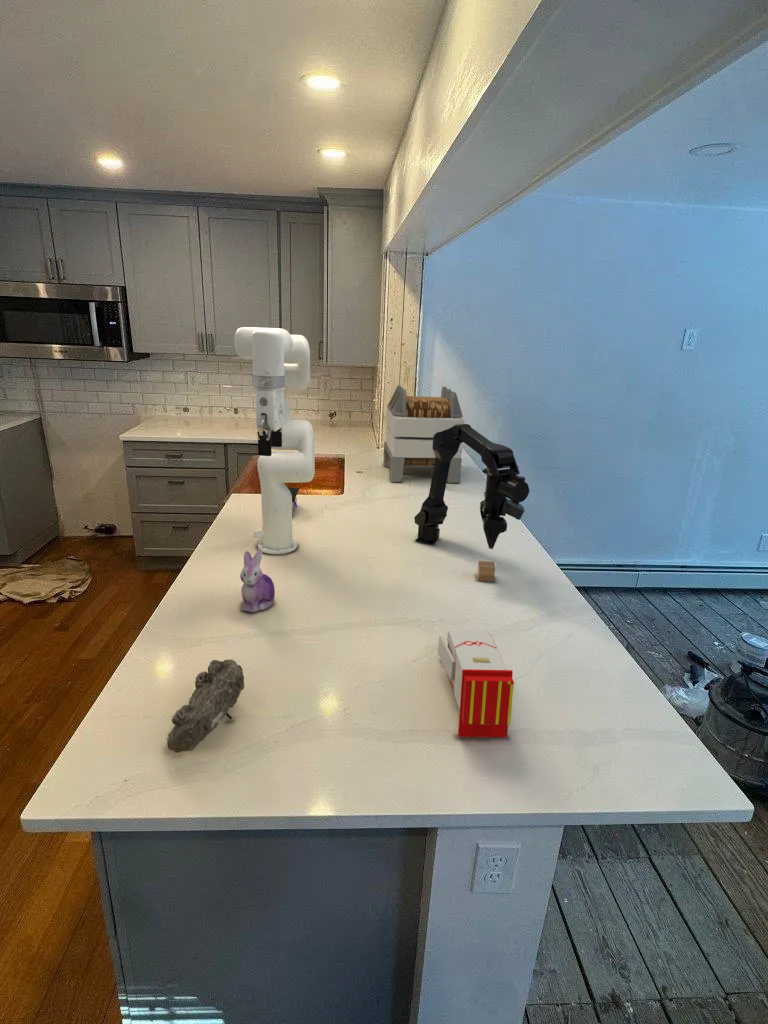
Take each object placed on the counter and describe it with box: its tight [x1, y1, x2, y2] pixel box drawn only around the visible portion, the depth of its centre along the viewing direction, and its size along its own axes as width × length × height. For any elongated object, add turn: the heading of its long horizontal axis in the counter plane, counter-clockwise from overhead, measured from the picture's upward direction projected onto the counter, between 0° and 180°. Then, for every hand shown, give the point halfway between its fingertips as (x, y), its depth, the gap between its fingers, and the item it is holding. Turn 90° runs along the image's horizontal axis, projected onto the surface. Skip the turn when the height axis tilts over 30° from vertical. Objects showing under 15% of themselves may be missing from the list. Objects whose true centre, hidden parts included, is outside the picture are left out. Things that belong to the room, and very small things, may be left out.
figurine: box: [239, 549, 276, 613], centre depth 146 cm, size 9×10×15 cm
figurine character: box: [286, 486, 300, 512], centre depth 216 cm, size 7×8×15 cm
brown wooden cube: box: [476, 560, 496, 583], centre depth 169 cm, size 4×5×5 cm
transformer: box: [383, 384, 465, 484], centre depth 268 cm, size 34×33×41 cm
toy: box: [437, 628, 515, 738], centre depth 117 cm, size 12×13×30 cm
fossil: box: [166, 658, 245, 754], centre depth 106 cm, size 22×10×15 cm
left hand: (270, 451), depth 145 cm, fingers open, 9 cm apart
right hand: (489, 542), depth 165 cm, fingers open, 9 cm apart
